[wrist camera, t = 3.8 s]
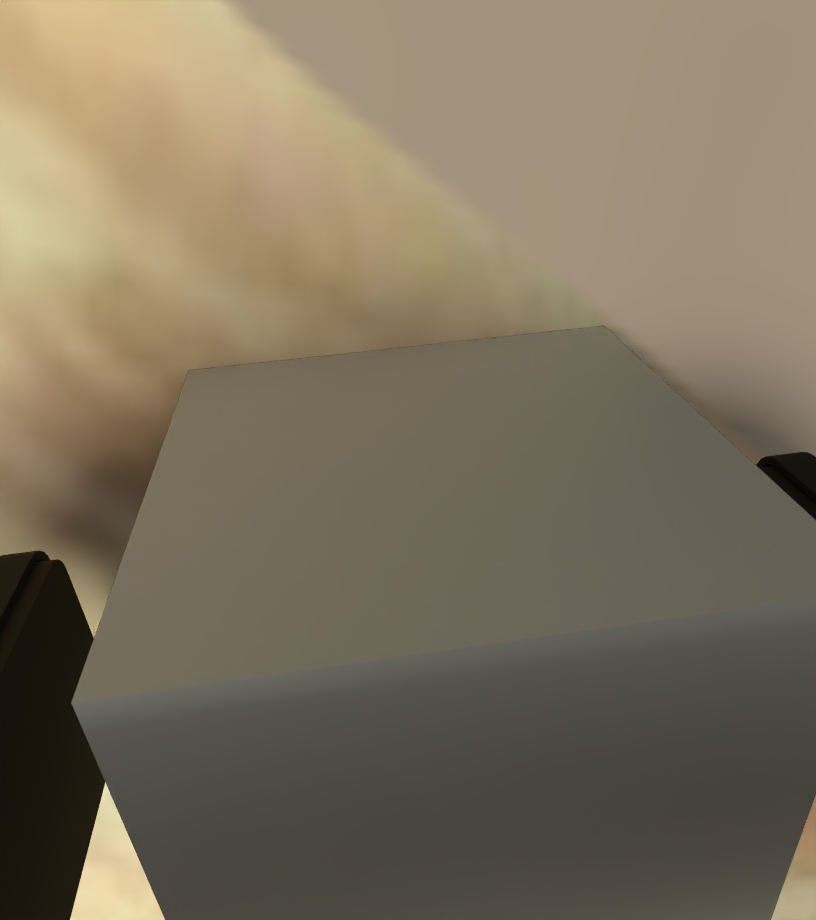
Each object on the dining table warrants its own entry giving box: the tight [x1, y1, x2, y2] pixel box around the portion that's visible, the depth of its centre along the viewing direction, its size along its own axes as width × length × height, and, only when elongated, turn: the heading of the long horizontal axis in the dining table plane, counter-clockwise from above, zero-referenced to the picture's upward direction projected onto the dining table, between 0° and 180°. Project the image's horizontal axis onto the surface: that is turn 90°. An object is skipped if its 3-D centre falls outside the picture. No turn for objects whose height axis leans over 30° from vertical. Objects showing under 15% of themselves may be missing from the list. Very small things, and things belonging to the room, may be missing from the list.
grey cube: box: [71, 326, 816, 920], centre depth 9 cm, size 6×6×6 cm
